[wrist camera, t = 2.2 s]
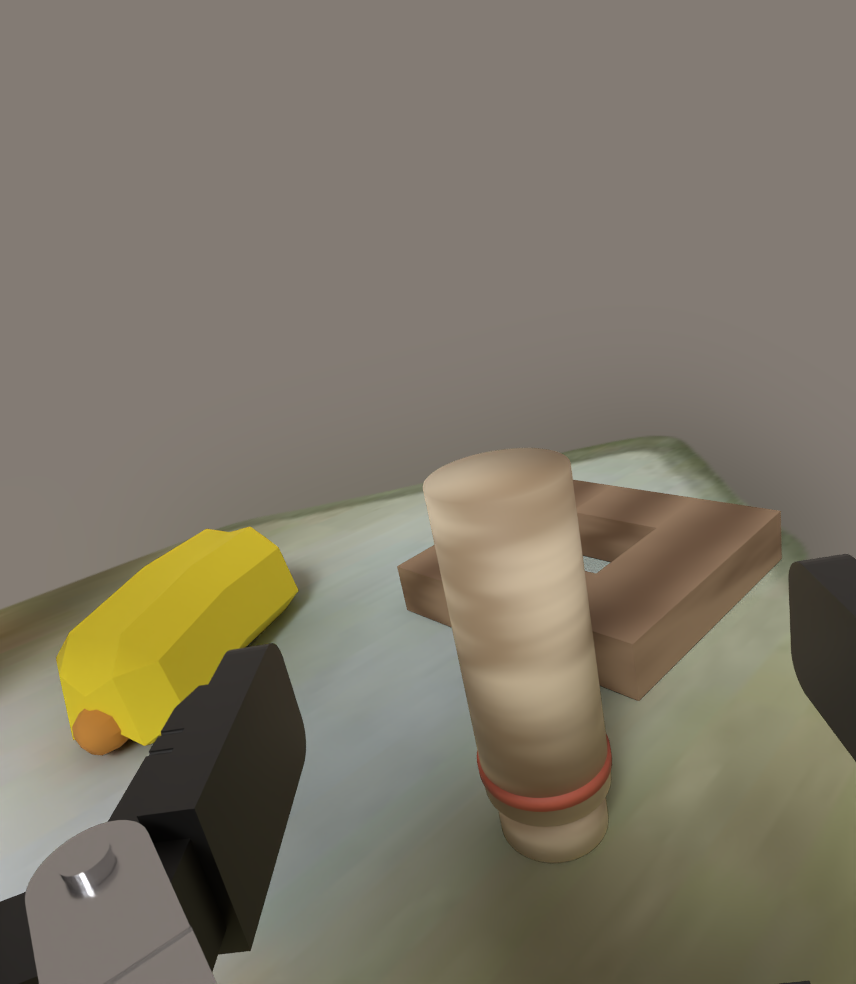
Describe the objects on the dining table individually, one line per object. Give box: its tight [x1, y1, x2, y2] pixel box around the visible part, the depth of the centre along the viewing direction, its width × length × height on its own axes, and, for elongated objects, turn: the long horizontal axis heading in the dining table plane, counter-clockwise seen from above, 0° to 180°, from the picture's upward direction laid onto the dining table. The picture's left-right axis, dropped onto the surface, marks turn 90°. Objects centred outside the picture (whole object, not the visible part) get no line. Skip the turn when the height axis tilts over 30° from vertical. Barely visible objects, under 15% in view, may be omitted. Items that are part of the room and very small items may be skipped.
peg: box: [423, 448, 612, 863], centre depth 25 cm, size 5×5×14 cm
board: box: [397, 480, 782, 701], centre depth 42 cm, size 16×15×3 cm
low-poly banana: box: [56, 527, 298, 755], centre depth 42 cm, size 18×7×8 cm
